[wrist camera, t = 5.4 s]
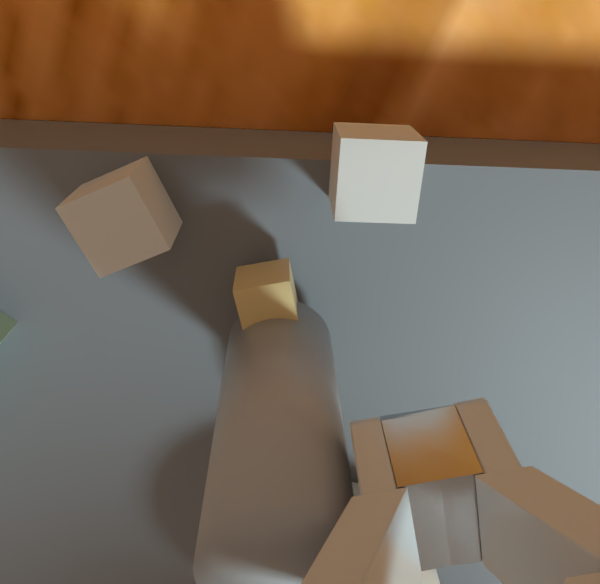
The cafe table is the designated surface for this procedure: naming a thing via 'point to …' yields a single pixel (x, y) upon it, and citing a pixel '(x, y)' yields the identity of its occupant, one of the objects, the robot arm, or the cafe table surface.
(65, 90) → the cafe table surface
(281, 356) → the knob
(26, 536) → the dial plate
